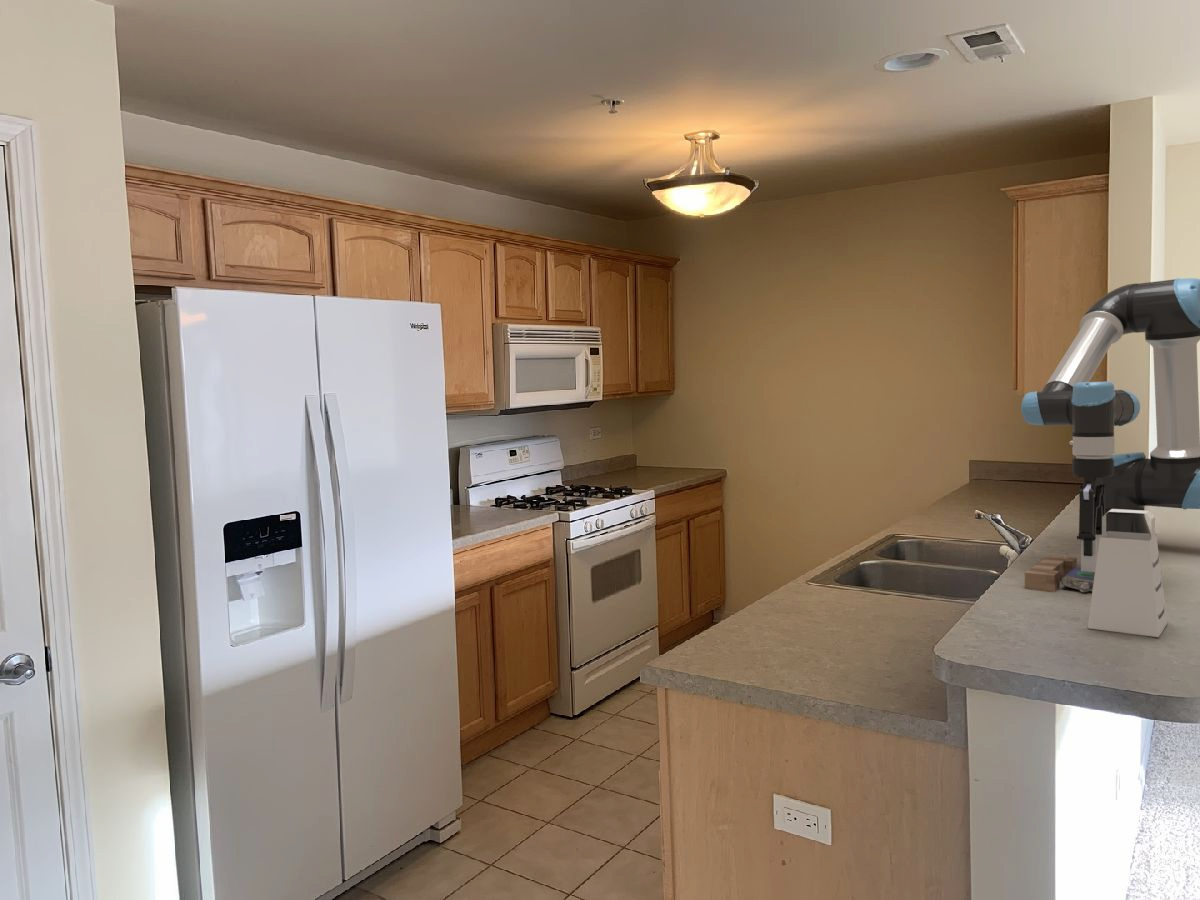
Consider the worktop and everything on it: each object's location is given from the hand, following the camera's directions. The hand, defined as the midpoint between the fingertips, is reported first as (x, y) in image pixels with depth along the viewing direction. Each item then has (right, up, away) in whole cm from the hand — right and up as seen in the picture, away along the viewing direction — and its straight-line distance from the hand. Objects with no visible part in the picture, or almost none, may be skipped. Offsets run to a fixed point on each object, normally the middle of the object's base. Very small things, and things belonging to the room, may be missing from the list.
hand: (1092, 568), depth 183 cm
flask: (+1, -4, +1) cm, 5 cm away
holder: (0, -4, 0) cm, 4 cm away
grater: (-10, -6, -29) cm, 32 cm away
